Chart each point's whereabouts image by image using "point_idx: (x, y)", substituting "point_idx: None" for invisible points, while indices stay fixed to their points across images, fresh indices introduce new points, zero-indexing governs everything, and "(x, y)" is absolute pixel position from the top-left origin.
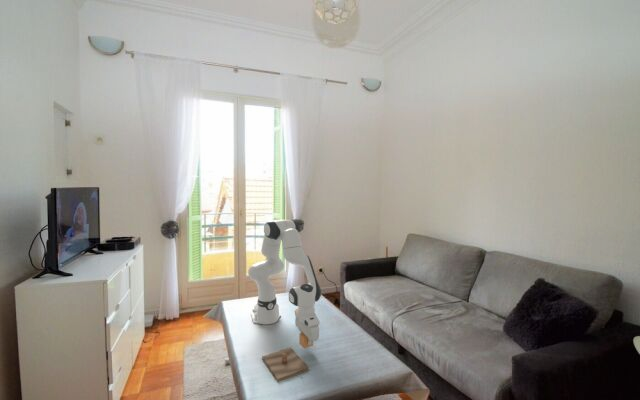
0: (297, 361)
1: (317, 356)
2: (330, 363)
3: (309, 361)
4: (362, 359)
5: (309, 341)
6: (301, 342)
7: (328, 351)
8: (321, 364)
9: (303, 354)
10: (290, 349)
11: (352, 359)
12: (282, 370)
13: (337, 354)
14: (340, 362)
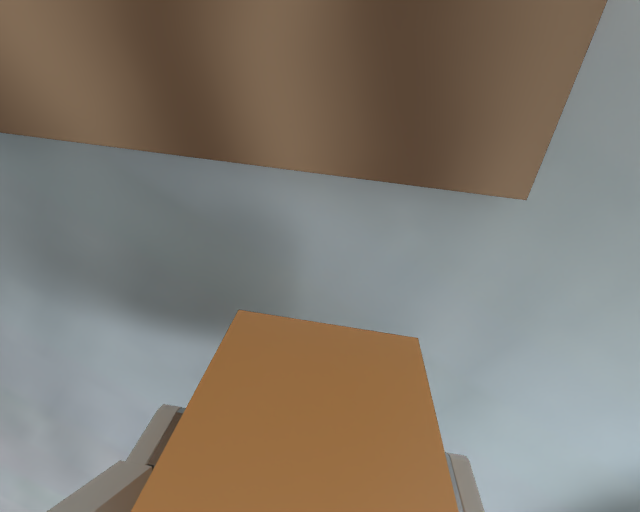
0: (77, 49)
1: (168, 343)
2: (13, 358)
3: (117, 232)
4: (4, 506)
5: (101, 486)
6: (329, 370)
7: None
8: (20, 295)
9: (285, 259)
10: (469, 157)
11: (21, 477)
12: None
13: (121, 457)
14: (6, 414)
